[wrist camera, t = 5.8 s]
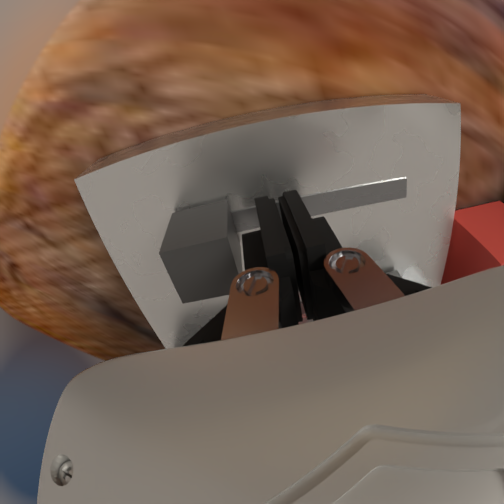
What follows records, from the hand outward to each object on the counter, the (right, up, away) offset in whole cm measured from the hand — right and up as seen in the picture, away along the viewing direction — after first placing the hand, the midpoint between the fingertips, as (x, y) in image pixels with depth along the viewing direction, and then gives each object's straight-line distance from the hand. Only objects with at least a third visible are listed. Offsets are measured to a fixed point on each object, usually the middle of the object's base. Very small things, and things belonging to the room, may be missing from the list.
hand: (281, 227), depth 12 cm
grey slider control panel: (+1, 0, +5) cm, 6 cm away
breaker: (-3, 0, +1) cm, 3 cm away
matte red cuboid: (+16, 0, +7) cm, 17 cm away
